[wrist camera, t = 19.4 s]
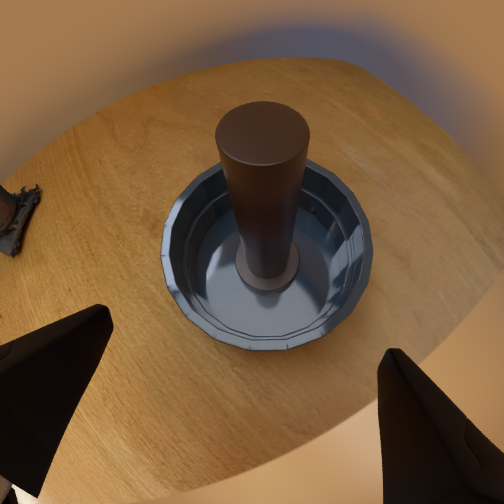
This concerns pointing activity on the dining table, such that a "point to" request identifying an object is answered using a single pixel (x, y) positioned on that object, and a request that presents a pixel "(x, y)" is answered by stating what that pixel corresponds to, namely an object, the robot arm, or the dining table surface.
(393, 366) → the robot arm
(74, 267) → the dining table surface
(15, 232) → the beverage can
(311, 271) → the bowl
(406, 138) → the dining table surface
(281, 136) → the brown flanged post
